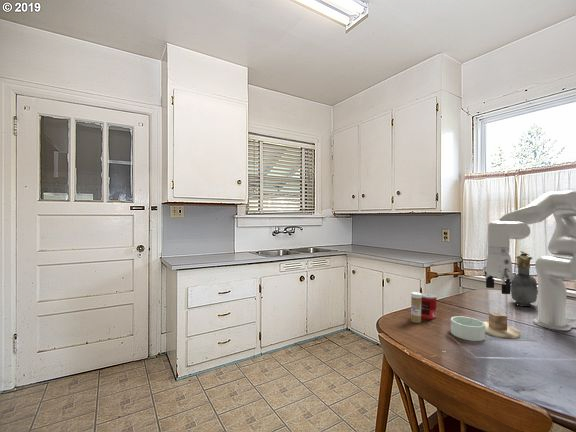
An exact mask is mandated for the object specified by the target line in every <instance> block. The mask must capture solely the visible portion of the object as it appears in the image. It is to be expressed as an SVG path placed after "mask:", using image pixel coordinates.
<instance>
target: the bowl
mask: <svg viewBox="0 0 576 432" xmlns="http://www.w3.org/2000/svg"><path fill="white" fill-rule="evenodd" d="M484 322H485V321H482V320H480V319H478V318H474V317H469V316H465V315H456V316H452V317H451V318H450V333H451V334H452V335H453V336H454V337H457V338H459V339H462V340H467V341H470V342H471V341H473V342H481V341H484V340H486V337H485V323H484Z"/></svg>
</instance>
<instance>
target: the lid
mask: <svg viewBox="0 0 576 432" xmlns="http://www.w3.org/2000/svg"><path fill="white" fill-rule="evenodd" d="M483 322H484V323H485V333H486V334H488V335H491V336H495V337H500V338H507V339H515V338H519V337H520V332H521V331H520V330H519V329H517V328H515V327H514V326H510V325H508V315H506V314H504V313H502V312H488V321H483Z"/></svg>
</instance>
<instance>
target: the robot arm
mask: <svg viewBox="0 0 576 432" xmlns="http://www.w3.org/2000/svg"><path fill="white" fill-rule="evenodd" d="M551 215H553V217H554V219H555V222H556V226H555V229H554V232H553V233H552V236H551V238H550V240H549V243H548V246H547V250H548V253H550V254H551V255H541V256H539V257H538V258H537V259H536V260H535V263H534V264H535V267H534V268H535V271H536V274H537V275H536V276H537V317H536V318H533V321H532V322H533V323H534V324H535V325H537V326H539V327H542V328H545V329H550V330H553V331H561V332H562V331H563V332H565V331H567V332H568V331H570V330H571V329H572V326H571V325H570V323H572V324H576V318H574V317H573V318H571V317H570V318H569V317H568V316H567V286H566V284H565V283H564V281H563V280H565V281H571V282H576V218H575V217H576V191H575V190H562V191H559V190H557V191H548V192H546V193H543V194H541V195H539V197H537V198H536V199H535V200H533V201H532V202H531V203H529V204H528V205H526V206H525V207H522V208H519V209H515V210H513V211H510V212H508V213H505V214H503V215H501V216H500V217H498V218H497V219H496V220H495V221H491V222H488V224H487V225H488V227H487V255H486V263H485V264H486V265H485V266H484V267H483V272H484V276H485V288H487V289H494V288H495V278H496V279H500V280H501V282H502V283H501V294H502V295H511V284H512V282H513V279H514V277H515V276H514V275H515V274H514V273H513V263H512V258H511V255H510V246H511V245H510V242H511V240H524V239H527V238H528V237H529V236H530V235H531V228H530V226H529V225H533V224H538V223H542V222H543V221H545V220H546V219H547V218H549V217H550V216H551ZM552 255H554V256H552Z"/></svg>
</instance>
